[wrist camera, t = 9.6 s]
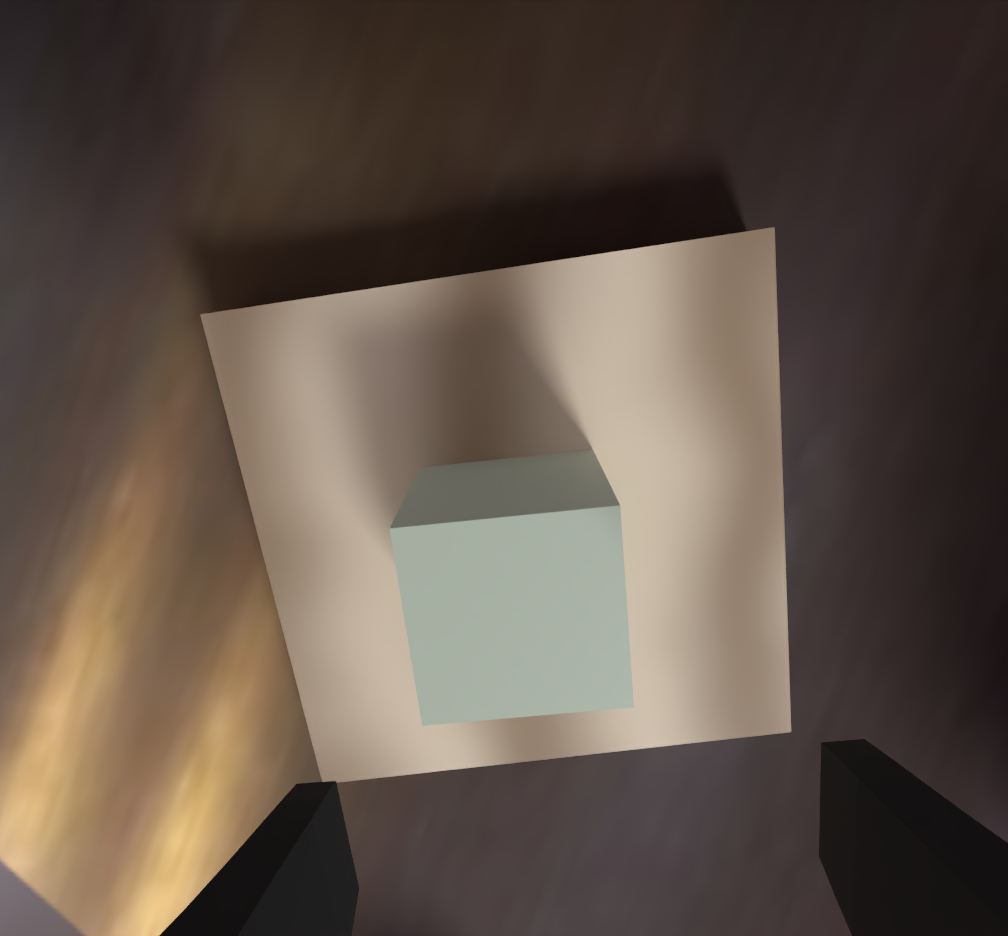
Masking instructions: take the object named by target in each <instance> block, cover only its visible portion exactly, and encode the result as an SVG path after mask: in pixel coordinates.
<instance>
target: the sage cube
mask: <svg viewBox="0 0 1008 936" xmlns="http://www.w3.org/2000/svg"><path fill="white" fill-rule="evenodd" d="M389 530H390V536H391V542H392V548H393V554H394V560H395V566H396V571H397V577H398V583H399V589H400V595H401V601H402V607H403V613H404V619H405V625H406V631H407V637H408V643H409V649H410V655H411V661H412V667H413V673H414V679H415V685H416V691H417V697H418V703H419V709H420V715H421V721H422V726H426V725H437V724H449V723H460V722H472V721H483V720H495V719H506V718H517V717H529V716H540V715H552V714H563V713H575V712H586V711H598V710H609V709H621V708H632V707H634V700H633V686H632V671H631V656H630V641H629V626H628V612H627V597H626V582H625V567H624V553H623V538H622V523H621V508H620V504H619V502H618V500H617V498H616V496H615V494H614V492H613V489H612V487H611V485H610V483H609V481H608V479H607V477H606V475H605V473H604V471H603V469H602V467H601V465H600V463H599V461H598V459H597V457H596V455H595V453H594V451H593V450H584V451H574V452H564V453H555V454H545V455H535V456H526V457H516V458H506V459H497V460H487V461H477V462H468V463H458V464H449V465H439V466H429V467H421V468H420V470H419V472H418V474H417V476H416V478H415V480H414V481H413V483H412V485H411V487H410V489H409V491H408V493H407V495H406V497H405V499H404V501H403V503H402V505H401V507H400V509H399V511H398V513H397V515H396V517H395V518H394V520H393V522H392V524H391V526H390V528H389Z"/></svg>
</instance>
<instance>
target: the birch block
mask: <svg viewBox="0 0 1008 936" xmlns="http://www.w3.org/2000/svg"><path fill="white" fill-rule="evenodd" d="M200 316H201V319H202V323H203V327H204V331H205V335H206V338H207V342H208V346H209V350H210V354H211V358H212V361H213V365H214V369H215V373H216V377H217V381H218V384H219V388H220V392H221V396H222V400H223V404H224V407H225V411H226V415H227V419H228V423H229V427H230V430H231V434H232V438H233V442H234V446H235V449H236V453H237V457H238V461H239V465H240V469H241V472H242V476H243V480H244V484H245V488H246V492H247V495H248V499H249V503H250V507H251V511H252V515H253V518H254V522H255V526H256V530H257V534H258V538H259V541H260V545H261V549H262V553H263V557H264V561H265V564H266V568H267V572H268V576H269V580H270V583H271V587H272V591H273V595H274V599H275V603H276V606H277V610H278V614H279V618H280V622H281V626H282V629H283V633H284V637H285V641H286V645H287V649H288V652H289V656H290V660H291V664H292V668H293V672H294V675H295V679H296V683H297V687H298V691H299V694H300V698H301V702H302V706H303V710H304V714H305V717H306V721H307V725H308V729H309V733H310V737H311V740H312V744H313V748H314V752H315V756H316V760H317V763H318V767H319V771H320V775H321V779H322V782H327V781H336V783H337V782H346V781H355V780H364V779H373V778H382V777H391V776H400V775H409V774H418V773H427V772H436V771H445V770H454V769H463V768H472V767H481V766H490V765H499V764H508V763H517V762H526V761H535V760H544V759H553V758H562V757H571V756H580V755H589V754H598V753H607V752H616V751H625V750H634V749H643V748H652V747H661V746H670V745H679V744H688V743H697V742H706V741H715V740H724V739H733V738H742V737H751V736H760V735H769V734H778V733H787V732H791V712H790V682H789V651H788V621H787V591H786V561H785V530H784V500H783V470H782V440H781V409H780V379H779V349H778V319H777V288H776V258H775V228H774V227H773V228H766V229H760V230H753V231H747V232H740V233H733V234H727V235H720V236H714V237H707V238H701V239H694V240H687V241H681V242H674V243H668V244H661V245H654V246H648V247H641V248H635V249H628V250H622V251H615V252H608V253H602V254H595V255H589V256H582V257H575V258H569V259H562V260H556V261H549V262H542V263H536V264H529V265H523V266H516V267H510V268H503V269H496V270H490V271H483V272H477V273H470V274H463V275H457V276H450V277H444V278H437V279H431V280H424V281H417V282H411V283H404V284H398V285H391V286H384V287H378V288H371V289H365V290H358V291H351V292H345V293H338V294H332V295H325V296H319V297H312V298H305V299H299V300H292V301H286V302H279V303H272V304H266V305H259V306H253V307H246V308H240V309H233V310H226V311H220V312H213V313H207V314H200ZM584 450H593V451H594V453H595V455H596V457H597V459H598V461H599V463H600V465H601V467H602V469H603V471H604V473H605V475H606V477H607V479H608V481H609V483H610V485H611V487H612V489H613V492H614V494H615V496H616V498H617V500H618V502H619V504H620V508H621V523H622V538H623V553H624V567H625V582H626V597H627V612H628V626H629V641H630V656H631V671H632V686H633V700H634V707H632V708H621V709H609V710H598V711H586V712H575V713H563V714H552V715H540V716H529V717H517V718H506V719H495V720H483V721H472V722H460V723H449V724H437V725H426V726H422V721H421V715H420V709H419V703H418V697H417V691H416V685H415V679H414V673H413V667H412V661H411V655H410V649H409V643H408V637H407V631H406V625H405V619H404V613H403V607H402V601H401V595H400V589H399V583H398V577H397V571H396V566H395V560H394V554H393V548H392V542H391V536H390V530H389V528H390V526H391V524H392V522H393V520H394V518H395V517H396V515H397V513H398V511H399V509H400V507H401V505H402V503H403V501H404V499H405V497H406V495H407V493H408V491H409V489H410V487H411V485H412V483H413V481H414V480H415V478H416V476H417V474H418V472H419V470H420V468H421V467H429V466H439V465H449V464H458V463H468V462H477V461H487V460H497V459H506V458H516V457H526V456H535V455H545V454H555V453H564V452H574V451H584Z"/></svg>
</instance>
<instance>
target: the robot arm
mask: <svg viewBox="0 0 1008 936" xmlns="http://www.w3.org/2000/svg"><path fill="white" fill-rule="evenodd" d="M819 857H820V859H821V862H822V864H823V867H824V869H825V872H826V874H827V877H828V879H829V882H830V884H831V887H832V889H833V892H834V894H835V897H836V899H837V901H838V904H839V906H840V908H841V911H842V913H843V915H844V918H845V920H846V922H847V925H848V927H849V929H850V932H851V934H852V936H1008V843H1007V842H1005V841H1004V840H1002V839H1001V838H1000V837H998V836H997V835H995V834H994V833H993V832H991V831H990V830H988V829H987V828H986V827H984V826H983V825H981V824H980V823H979V822H977V821H976V820H974V819H973V818H972V817H970V816H969V815H967V814H966V813H965V812H963V811H962V810H961V809H959V808H958V807H956V806H955V805H954V804H952V803H951V802H950V801H948V800H947V799H946V798H944V797H943V796H941V795H940V794H939V793H937V792H936V791H935V790H933V789H932V788H931V787H929V786H928V785H926V784H925V783H924V782H922V781H921V780H920V779H918V778H917V777H916V776H914V775H913V774H912V773H910V772H909V771H908V770H906V769H905V768H904V767H902V766H901V765H899V764H898V763H897V762H895V761H894V760H893V759H891V758H890V757H889V756H887V755H886V754H884V753H883V752H882V751H880V750H879V749H878V748H876V747H875V746H873V745H872V744H870V743H869V742H868V741H866V740H865V739H860V740H847V741H835V742H822V743H821V784H820V837H819ZM358 891H359V886H358V881H357V877H356V872H355V868H354V863H353V858H352V854H351V849H350V844H349V840H348V835H347V830H346V826H345V821H344V816H343V812H342V807H341V803H340V798H339V793H338V789H337V784H336V781H327V782H315V783H302V784H296V785H295V786H294V787H293V788H292V790H291V791H290V792H289V793H288V794H287V795H286V796H285V797H284V798H283V800H282V801H281V802H280V803H279V804H278V805H277V806H276V808H275V809H274V810H273V811H272V812H271V813H270V814H269V815H268V817H267V818H266V819H265V820H264V821H263V822H262V823H261V825H260V826H259V827H258V828H257V829H256V830H255V831H254V833H253V834H252V835H251V836H250V837H249V838H248V839H247V841H246V842H245V843H244V844H243V845H242V846H241V847H240V849H239V850H238V851H237V852H236V853H235V854H234V855H233V857H232V858H231V859H230V860H229V861H228V862H227V863H226V864H225V866H224V867H223V868H222V869H221V870H220V871H219V872H218V873H217V874H216V876H215V877H214V878H213V879H212V880H211V881H210V882H209V883H208V884H207V885H206V887H205V888H204V889H203V890H202V891H201V892H200V893H199V894H198V895H197V896H196V898H195V899H194V900H193V901H192V902H191V903H190V904H189V905H188V906H187V908H186V909H185V910H184V911H183V912H182V913H181V914H180V915H179V916H178V917H177V918H176V919H175V920H174V921H173V922H172V923H171V924H170V925H169V926H168V927H167V928H166V929H165V930H164V931H163V932H162V933H161V935H160V936H351V934H352V928H353V922H354V916H355V910H356V904H357V897H358Z"/></svg>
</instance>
